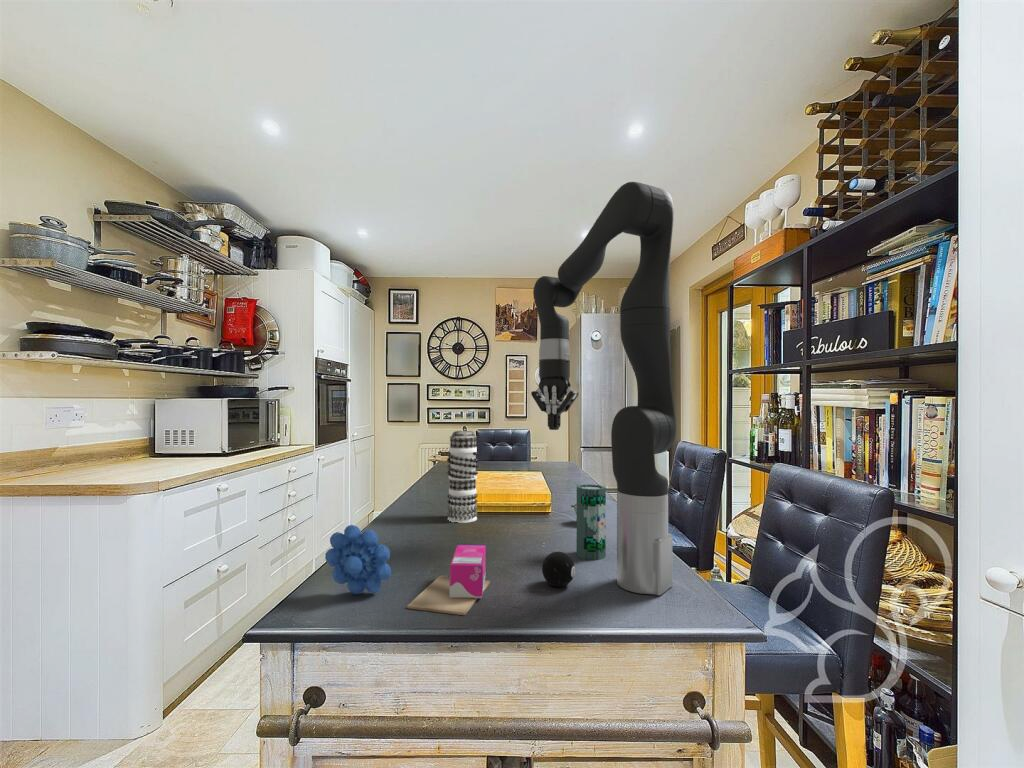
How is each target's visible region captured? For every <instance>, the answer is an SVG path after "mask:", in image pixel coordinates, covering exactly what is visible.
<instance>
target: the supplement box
mask: <svg viewBox="0 0 1024 768" xmlns="http://www.w3.org/2000/svg"><path fill="white" fill-rule="evenodd" d="M486 549H487V545H486V544H457V546H456V548H455V550H454V553H453V556H452V559H451V561H450V565H449V576H450V598H478V599H482V598H483V593H484V591H483V588H484V582H485V580H486V574H487V573H486V552H487V550H486Z"/></svg>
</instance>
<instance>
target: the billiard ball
mask: <svg viewBox="0 0 1024 768" xmlns="http://www.w3.org/2000/svg"><path fill="white" fill-rule="evenodd" d="M575 567H576V566H575V562H574V560H573V558H572V557H571V556H570V555H569V554H567V553H566V552H564V551H553V552H550V553H548V554H547V555H546V556H545V557H544V559H543V561H542V565H541V571H542V576H543V578H544V580H545V581H546V582H547V583H548V584H550V585H551V586H554V587H564V586H567V585H569V584H570V583H571V582H572V581H573V579H574V576H575V571H576V568H575Z"/></svg>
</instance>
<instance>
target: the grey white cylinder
mask: <svg viewBox="0 0 1024 768" xmlns="http://www.w3.org/2000/svg"><path fill="white" fill-rule="evenodd" d="M449 438H450V439H449V451H448V452H446V453H447V454H446V456H447V457H448V458H447V459H446V461H447V462H448V465H447V467H446V468H447V469H448V470H447V472H446V473H447V475H448V477H447V478H448V480H449V487H448V495H447V498H448V500H447V504H448V506H447V512H446V514H447V516H448V517H447V521H448V520H449V522H450V521H451V522H450V523H454V522H458V523H457V524H466V523H467V524H468V523H472V522H473V523H474V522H476V521H477V520H478V516H477V515H478V512H477V510H478V506H477V503H478V500H477V497H479V496H478V494H477V486H476V485H477V481H476V480H477V479H478V474H479V472H478V471H477V470H476V469H477V468H479V464H477V463H478V462H480V461H479V459H478V458H477V456H479V454H480V452H478V451H477V449H478V447H477V438H478V436H477V435H475V433H474V431H470V430H455V431H453V432H452V434H451V435H450V436H449Z"/></svg>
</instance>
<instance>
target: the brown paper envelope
mask: <svg viewBox="0 0 1024 768" xmlns="http://www.w3.org/2000/svg"><path fill="white" fill-rule="evenodd" d="M490 583H491V580H486V579H485V582H484V588H483V592H484V591H485V590H486V589H487V588H488V586H490ZM478 599H479V598H450V575H449V576H448V575H439V576H438V577H437V578H436V579H435V580H434V581H433V582H431V583H430V584H429V585H428V586H427V587H425V589H423V590H422V592H420V593H419V594H418V595H417V596H416V597H415V598H414V599H412V600H411V602H409V603H408V604H407V606H406V609H411V610H417V611H418V610H419V611H426V612H435V613H444V614H452V615H460V616H466V615H467V614H468V611H469V610H470V609H471V608H472V607H473V605H474V604H475V603H476V602H477V600H478Z"/></svg>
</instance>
